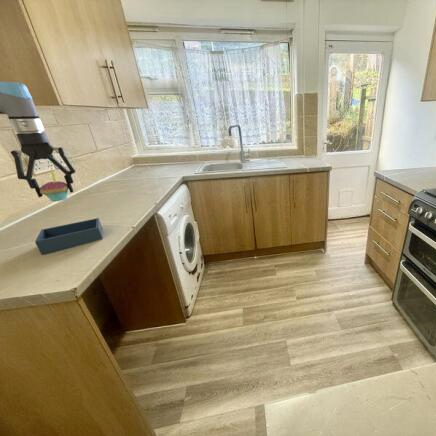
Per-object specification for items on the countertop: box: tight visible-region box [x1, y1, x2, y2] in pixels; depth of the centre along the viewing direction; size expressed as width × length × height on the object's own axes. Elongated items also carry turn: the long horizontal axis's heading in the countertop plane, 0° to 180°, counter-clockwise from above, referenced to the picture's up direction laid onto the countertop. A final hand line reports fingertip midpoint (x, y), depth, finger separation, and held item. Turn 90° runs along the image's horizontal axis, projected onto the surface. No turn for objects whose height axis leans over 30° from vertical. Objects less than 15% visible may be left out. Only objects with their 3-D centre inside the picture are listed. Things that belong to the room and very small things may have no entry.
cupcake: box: [39, 167, 69, 202], centre depth 93 cm, size 9×8×12 cm
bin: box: [34, 217, 104, 255], centre depth 98 cm, size 19×13×6 cm
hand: (56, 193), depth 94 cm, fingers closed on cupcake, 8 cm apart
